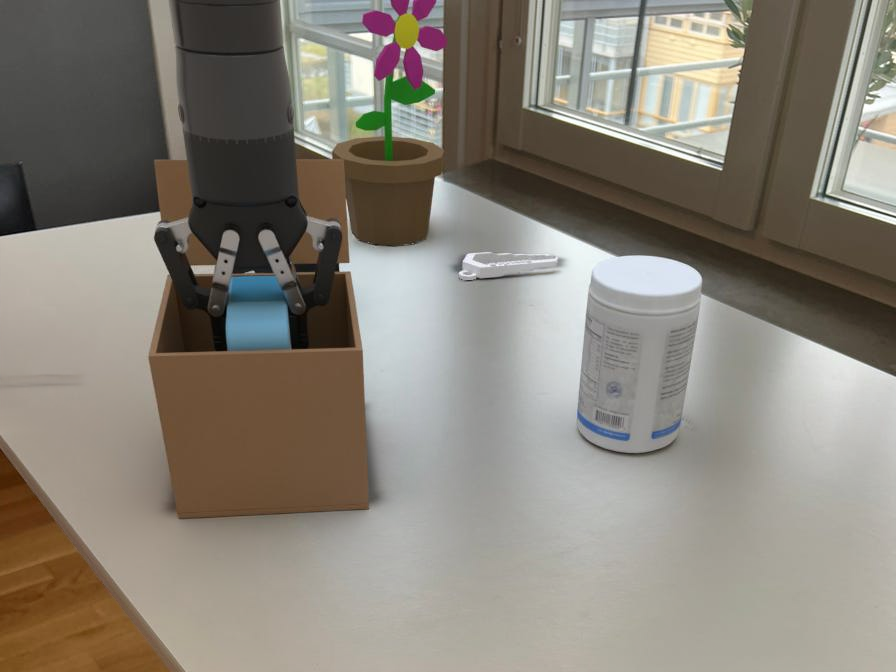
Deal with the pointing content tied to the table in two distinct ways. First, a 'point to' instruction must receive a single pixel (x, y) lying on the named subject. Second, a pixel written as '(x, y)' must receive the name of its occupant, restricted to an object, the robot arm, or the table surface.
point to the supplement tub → (637, 352)
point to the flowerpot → (394, 139)
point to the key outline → (502, 264)
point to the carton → (262, 412)
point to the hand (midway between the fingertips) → (263, 355)
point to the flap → (316, 193)
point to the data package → (257, 315)
